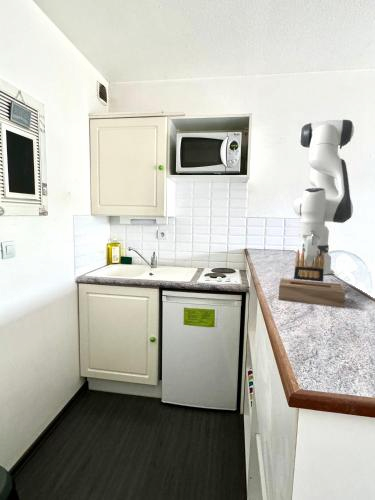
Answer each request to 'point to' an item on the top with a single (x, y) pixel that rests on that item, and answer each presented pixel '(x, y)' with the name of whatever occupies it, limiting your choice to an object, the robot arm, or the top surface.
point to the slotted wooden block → (312, 292)
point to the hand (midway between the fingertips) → (309, 265)
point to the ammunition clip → (309, 268)
